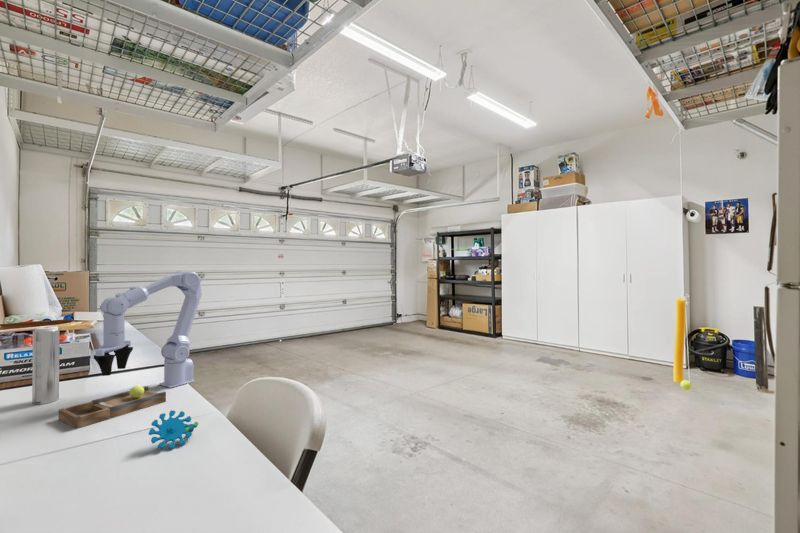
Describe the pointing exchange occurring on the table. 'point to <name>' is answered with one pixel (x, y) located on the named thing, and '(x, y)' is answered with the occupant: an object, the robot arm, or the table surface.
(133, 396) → the ball
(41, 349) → the silver metal cylinder
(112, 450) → the table surface
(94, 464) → the table surface
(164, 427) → the gear
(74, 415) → the wooden tray
